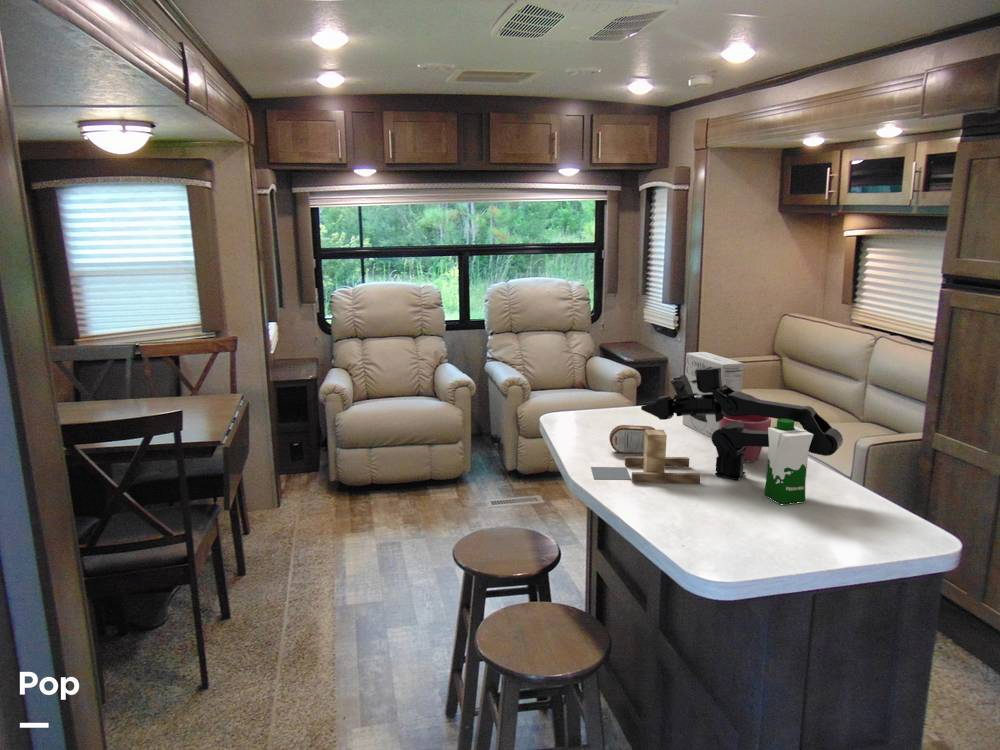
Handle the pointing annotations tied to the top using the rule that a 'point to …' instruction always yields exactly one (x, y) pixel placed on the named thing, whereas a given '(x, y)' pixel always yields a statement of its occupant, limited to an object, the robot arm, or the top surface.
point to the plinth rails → (663, 477)
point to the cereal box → (729, 377)
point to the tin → (629, 438)
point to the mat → (611, 473)
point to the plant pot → (751, 424)
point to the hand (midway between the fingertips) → (648, 406)
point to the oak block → (654, 451)
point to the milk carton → (787, 462)
